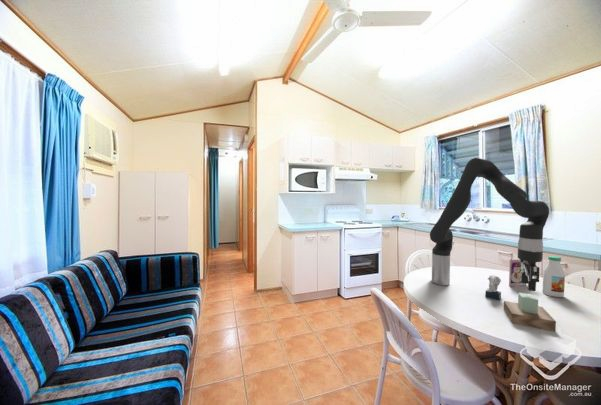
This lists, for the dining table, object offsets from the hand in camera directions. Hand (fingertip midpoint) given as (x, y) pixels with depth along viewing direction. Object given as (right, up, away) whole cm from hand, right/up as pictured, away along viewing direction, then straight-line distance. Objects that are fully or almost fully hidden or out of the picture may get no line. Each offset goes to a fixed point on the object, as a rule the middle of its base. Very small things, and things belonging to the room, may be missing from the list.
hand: (528, 286), depth 102 cm
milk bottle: (+36, -13, +24) cm, 45 cm away
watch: (+3, -13, +22) cm, 26 cm away
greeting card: (+28, -12, +40) cm, 51 cm away
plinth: (0, -14, +1) cm, 14 cm away
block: (0, -10, 0) cm, 10 cm away
